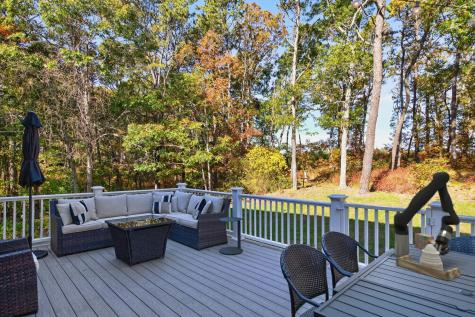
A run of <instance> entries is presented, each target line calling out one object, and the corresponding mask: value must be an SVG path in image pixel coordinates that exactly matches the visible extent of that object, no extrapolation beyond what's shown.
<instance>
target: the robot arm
mask: <svg viewBox="0 0 475 317" xmlns="http://www.w3.org/2000/svg"><path fill="white" fill-rule="evenodd" d="M450 178H451V176H450V174H449V173H448V172H446V171H438V172H437V171H436V172H434V174H433V175H432V180H431V181H430V182H429V183H427V185H426V186H424V187H423V188H422V189H420V190H419V191H418V192H417V193H416V194H415V195H414V196H413V197H412V198H411V200H410V201H409V203H408V205H407V207H406V208H405V209H404V210H403V211H402V212H396V213H395V214H394V216H393V228H394V240H395V241H394V255H395V257H396V258H399V257H402V256H406V255H410V233H409V228H408V225H409V223H410V222H411V221H412V220H413V218H414V217H415V215H416V214H418V212H419V211H421V210H422V209H423V208H424V207H425V206H426V205H427V204H428V203H429V201H430V200H432V198H434V196H435V195H436V194H438V196H439V201H440V207H441V210H442V212H443V213H446V215H443V216H442V217H441V220H440V225H441V226H440V229H439V231H438V233H437V235H436V238H435V239H434V240H435V242H436V243H435V245H433V246H434V247H435V248H436V250H437V251H438V252H440V254H439V256H440V257H441V256H445V255H447V254H448V253H451V250H450V248H448V246H449V244H450V241H451V238H452V235H453V232H454V228H453V227H452V226H458V225H460V221H461V220H460V218H459V216H458V214H457V213H456V210H455V207H454V203H453V200H452V197H451V196H450V193H449V190H448V187H447V184H448V183H449V182H450V180H451V179H450ZM447 214H448V215H447Z"/></svg>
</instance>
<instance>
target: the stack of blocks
mask: <svg viewBox="0 0 475 317" xmlns="http://www.w3.org/2000/svg"><path fill="white" fill-rule="evenodd" d="M414 240H415V242H414V243H415V249H418V248H419V249H418V250H421V251H422V250H423V249H424V248H425V247H426V246H427V245H428V244H431V242H435V240H436V239H435V237H434V235H430V234H427V233H421V232H420V233H414Z"/></svg>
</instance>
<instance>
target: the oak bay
mask: <svg viewBox="0 0 475 317" xmlns="http://www.w3.org/2000/svg"><path fill="white" fill-rule="evenodd" d="M395 262H396V266H397V267H399V268H403V269H407V270H410V271H413V272H416V273H421V274H423V275H427V276H430V277H432V278H436V279H440V280H443V281H446V282H449V281H451V280H454V279H456V278H458V277H461V267H458V266H457V267H454V268H451V269H449V270H444V269H443V270H439V269H435V268H432V267H428V266H425V265H421V264H420V263H417V262H413V261H412V254H409V255H406V256H402V257H395Z"/></svg>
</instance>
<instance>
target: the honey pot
mask: <svg viewBox="0 0 475 317" xmlns="http://www.w3.org/2000/svg"><path fill="white" fill-rule="evenodd" d="M435 243H436V242H431V244H428V245H427V246H426V247H425V248H424V249H423V250H421V255H420V258H419V264H421V265H425V266H428V267H432V268H435V269H439V270H443V271H444V266H443V264H444V263H443V262H442V258H441V255H440V256H439V254H440V252H438V251H437V250H436V248H435V247H434V246H433V245H435Z"/></svg>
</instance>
